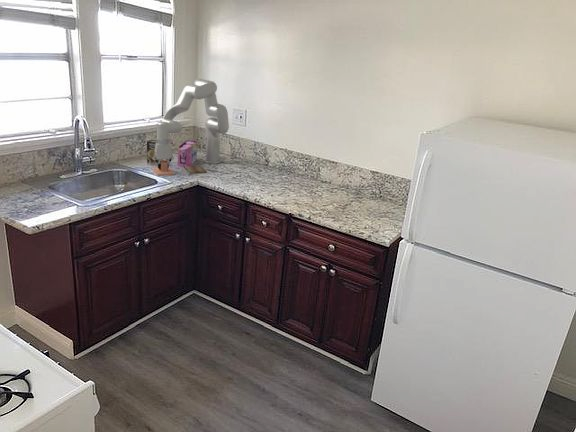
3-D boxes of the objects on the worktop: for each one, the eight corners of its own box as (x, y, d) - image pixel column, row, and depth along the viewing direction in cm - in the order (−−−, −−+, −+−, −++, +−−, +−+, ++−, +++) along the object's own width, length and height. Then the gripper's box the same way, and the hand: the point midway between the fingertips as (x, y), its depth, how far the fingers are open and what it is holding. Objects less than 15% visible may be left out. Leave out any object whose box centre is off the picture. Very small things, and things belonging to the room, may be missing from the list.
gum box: (188, 168, 315) (188, 148, 310) (176, 167, 316) (176, 147, 311) (196, 159, 338) (197, 141, 333) (186, 158, 338) (186, 140, 333)
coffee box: (146, 164, 315) (146, 141, 309) (151, 162, 321) (151, 139, 315) (158, 166, 313) (158, 143, 307) (163, 164, 319) (163, 141, 313)
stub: (168, 168, 310) (168, 158, 308) (174, 174, 299) (174, 163, 297) (152, 169, 305) (152, 158, 303) (157, 175, 294) (157, 164, 291)
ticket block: (199, 167, 321) (199, 164, 320) (206, 173, 309) (206, 170, 309) (183, 167, 315) (184, 165, 315) (190, 174, 304) (190, 171, 304)
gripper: (174, 139, 302) (174, 166, 308) (148, 140, 294) (148, 168, 301) (177, 142, 296) (177, 170, 302) (151, 143, 288) (151, 171, 295)
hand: (163, 168), depth 301 cm, fingers closed on stub, 4 cm apart
